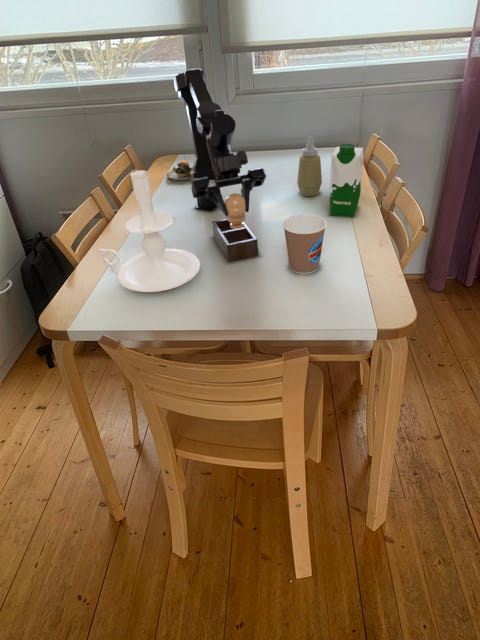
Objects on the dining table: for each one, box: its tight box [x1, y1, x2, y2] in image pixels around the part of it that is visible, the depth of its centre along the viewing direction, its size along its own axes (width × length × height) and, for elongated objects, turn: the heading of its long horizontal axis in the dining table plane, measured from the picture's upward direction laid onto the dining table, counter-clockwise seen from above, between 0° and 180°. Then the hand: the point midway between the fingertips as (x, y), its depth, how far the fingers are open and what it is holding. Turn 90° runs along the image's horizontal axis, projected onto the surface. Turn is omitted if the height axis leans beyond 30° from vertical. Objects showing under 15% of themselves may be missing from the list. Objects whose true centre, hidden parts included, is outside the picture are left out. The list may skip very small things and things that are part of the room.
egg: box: [224, 192, 247, 229], centre depth 119 cm, size 5×5×9 cm
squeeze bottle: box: [296, 136, 323, 197], centre depth 150 cm, size 8×8×18 cm
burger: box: [166, 156, 193, 181], centre depth 174 cm, size 12×12×8 cm
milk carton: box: [329, 143, 364, 218], centre depth 137 cm, size 9×9×20 cm
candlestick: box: [97, 169, 201, 293], centre depth 110 cm, size 21×25×28 cm
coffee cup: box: [282, 213, 328, 275], centre depth 114 cm, size 10×10×12 cm
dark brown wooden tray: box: [211, 218, 259, 263], centre depth 128 cm, size 8×16×5 cm, turn 17°
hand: (237, 213), depth 118 cm, fingers closed on egg, 5 cm apart
